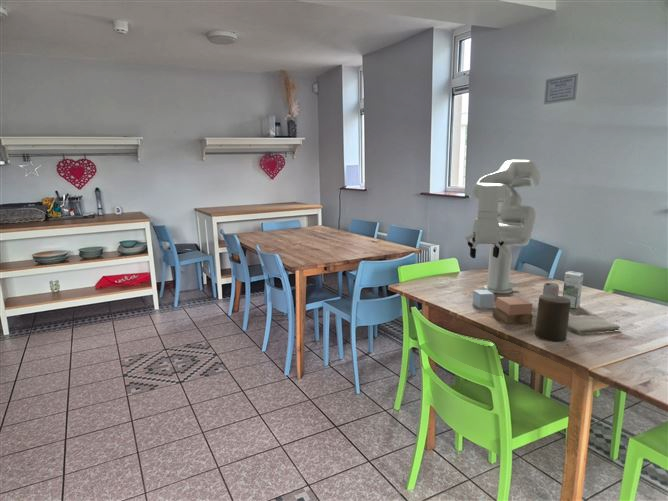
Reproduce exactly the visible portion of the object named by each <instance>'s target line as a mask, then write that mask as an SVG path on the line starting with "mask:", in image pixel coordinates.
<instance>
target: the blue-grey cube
mask: <svg viewBox="0 0 668 501" xmlns="http://www.w3.org/2000/svg"><path fill="white" fill-rule="evenodd" d="M472 293H473V294H472V304H473V305H474V306H476V308H478V309H490V308H491V309H493V308H494V299H495V298H494V297H495V293H492V292H490V291H488V290H484V289H473V292H472Z"/></svg>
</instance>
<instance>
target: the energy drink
mask: <svg viewBox="0 0 668 501" xmlns="http://www.w3.org/2000/svg"><path fill="white" fill-rule="evenodd" d="M559 286H560V285H559V284H557V283H554V282H545V283H544V285H543V289H542V295H543V294H549V295H558V296H559V292H560V291H559V289H560V287H559Z"/></svg>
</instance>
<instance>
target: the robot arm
mask: <svg viewBox="0 0 668 501" xmlns="http://www.w3.org/2000/svg"><path fill="white" fill-rule="evenodd" d="M540 180H541V175H540V172H539V169H538V166H537V164H536V163H535V162H534V161H533V160H531V159H510V160H506V161H504V162H503V163H502V164H501V166H500V167H499V168H498V170H497V171H495V172H493V173H489V174H487V175H484V176H482V177H480V178H478V181H477V182H475V184H474V187H473V189H472V197H473V199H474V200H475V201H478V206H477V207H478V208H477V216H476V217H477V218H474V222H473V226H472V230H471V231H472V232H471V234H469V235H467V236H465V237H464V241H465V242H466V245H467V246H468V247H469V249H470V250H469V256H470V257H471V259H476V256H477V255H476V253H477V248H476V247H477V246H478V245H489V258H488V271H487V284H485V285H484V284H483V289H482V290H488V291H490V292H492V293H494V294H501V295H503V294H504V295H505V294H507V295H508V294H511V293H512V292H513V287H519V286H520V283H519V282H518V281H517V282H516V281H514V282H513V281H510V277H511V267H512V266H511V265H512V258H513V256H512V255H513V254H512V251H511V249H510V248H509V246H518V247H525V246H528V244H529V243H530V242H531V237H532V233H533V231H534V230H533V229H534V227H535V226H534V225H535V223H536V222H535V221H536V210H535V208H534V207H533V206H531V205H523V204H522V202H523V199H522V196H521V194H520V193H519V192H518V190H516V189H517V188H519V189H535V188H537V187H538V186H539V184H540ZM515 188H516V189H515ZM499 203H500V207H499Z"/></svg>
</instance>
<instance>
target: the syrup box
mask: <svg viewBox="0 0 668 501" xmlns="http://www.w3.org/2000/svg"><path fill="white" fill-rule="evenodd" d="M583 281H584V273H583V272H579V271H578V272H577V271H573V270H567V271H566V272H565V273H564V280H563V287H562V288H563V289H562V295H561V296H562V297H566V298H569V299H570V300H571V304H570V309H572V308H574V309H573V310H577V309H578V308H579V307H580V304H581V295H582V288H583V283H584V282H583ZM576 308H577V309H576Z"/></svg>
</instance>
